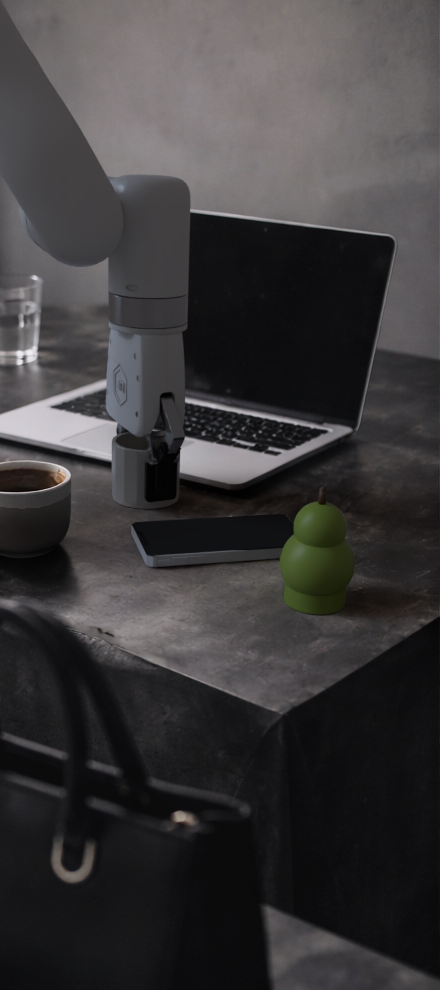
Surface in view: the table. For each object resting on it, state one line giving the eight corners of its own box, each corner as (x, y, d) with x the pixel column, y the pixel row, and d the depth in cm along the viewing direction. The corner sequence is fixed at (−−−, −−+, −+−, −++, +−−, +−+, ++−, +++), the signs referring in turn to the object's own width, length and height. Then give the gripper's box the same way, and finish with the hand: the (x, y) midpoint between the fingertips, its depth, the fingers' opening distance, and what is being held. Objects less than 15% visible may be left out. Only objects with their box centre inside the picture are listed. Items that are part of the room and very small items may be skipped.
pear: (279, 616, 77) (288, 499, 73) (275, 582, 82) (282, 472, 79) (356, 619, 77) (367, 501, 73) (345, 585, 82) (356, 474, 79)
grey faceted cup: (109, 507, 96) (109, 450, 94) (115, 483, 103) (115, 429, 101) (178, 510, 97) (179, 452, 94) (179, 485, 103) (181, 431, 101)
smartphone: (313, 546, 87) (147, 557, 83) (312, 558, 88) (147, 570, 83) (283, 512, 94) (130, 521, 90) (282, 523, 95) (130, 533, 91)
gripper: (81, 297, 99) (83, 464, 105) (144, 332, 84) (142, 523, 91) (150, 294, 102) (148, 456, 108) (223, 327, 87) (216, 512, 94)
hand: (146, 485), depth 99 cm, fingers closed on grey faceted cup, 6 cm apart
